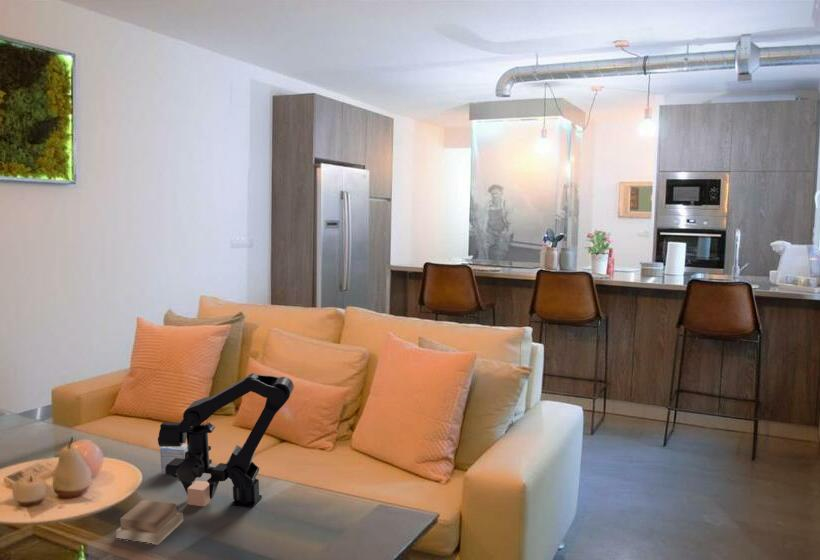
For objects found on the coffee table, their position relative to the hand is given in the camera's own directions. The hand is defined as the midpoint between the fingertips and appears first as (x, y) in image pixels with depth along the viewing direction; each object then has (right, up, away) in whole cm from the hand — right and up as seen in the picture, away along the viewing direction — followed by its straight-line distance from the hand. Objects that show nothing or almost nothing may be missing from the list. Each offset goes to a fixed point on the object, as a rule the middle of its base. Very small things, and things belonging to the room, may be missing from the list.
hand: (200, 497), depth 198 cm
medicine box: (-13, +2, +18) cm, 23 cm away
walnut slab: (-9, -2, -15) cm, 18 cm away
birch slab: (-9, -5, -15) cm, 18 cm away
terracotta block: (0, -1, 0) cm, 1 cm away
